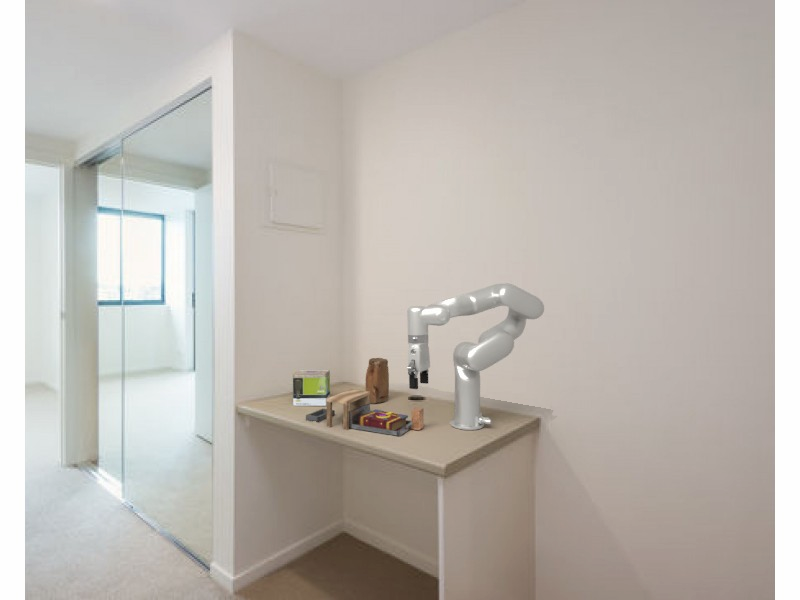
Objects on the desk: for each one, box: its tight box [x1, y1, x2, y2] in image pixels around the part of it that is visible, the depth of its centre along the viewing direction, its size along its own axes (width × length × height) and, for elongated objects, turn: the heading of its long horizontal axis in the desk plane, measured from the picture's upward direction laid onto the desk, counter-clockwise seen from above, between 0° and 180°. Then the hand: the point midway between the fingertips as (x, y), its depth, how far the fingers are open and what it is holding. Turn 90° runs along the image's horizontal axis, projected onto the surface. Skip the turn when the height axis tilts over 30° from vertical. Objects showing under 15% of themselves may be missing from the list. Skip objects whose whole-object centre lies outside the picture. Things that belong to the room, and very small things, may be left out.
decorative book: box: [359, 409, 409, 431], centre depth 159 cm, size 11×16×5 cm
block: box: [365, 357, 390, 404], centre depth 196 cm, size 11×8×20 cm
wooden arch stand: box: [326, 389, 371, 431], centre depth 164 cm, size 9×17×11 cm, turn 154°
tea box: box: [292, 369, 331, 407], centre depth 192 cm, size 15×10×15 cm, turn 89°
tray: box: [349, 403, 424, 437], centre depth 157 cm, size 24×14×7 cm, turn 64°
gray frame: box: [305, 408, 336, 423], centre depth 170 cm, size 6×11×2 cm, turn 154°
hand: (419, 385), depth 156 cm, fingers open, 9 cm apart
